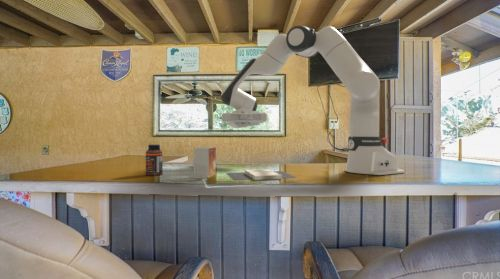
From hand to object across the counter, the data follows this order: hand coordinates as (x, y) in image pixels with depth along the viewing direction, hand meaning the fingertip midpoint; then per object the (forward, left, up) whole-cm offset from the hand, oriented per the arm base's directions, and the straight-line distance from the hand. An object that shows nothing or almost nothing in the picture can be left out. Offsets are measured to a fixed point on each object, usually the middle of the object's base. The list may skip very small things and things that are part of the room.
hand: (248, 116), depth 117 cm
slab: (0, +14, -21) cm, 25 cm away
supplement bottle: (+37, +4, -23) cm, 44 cm away
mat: (0, +18, -23) cm, 29 cm away
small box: (+19, +14, -23) cm, 33 cm away
